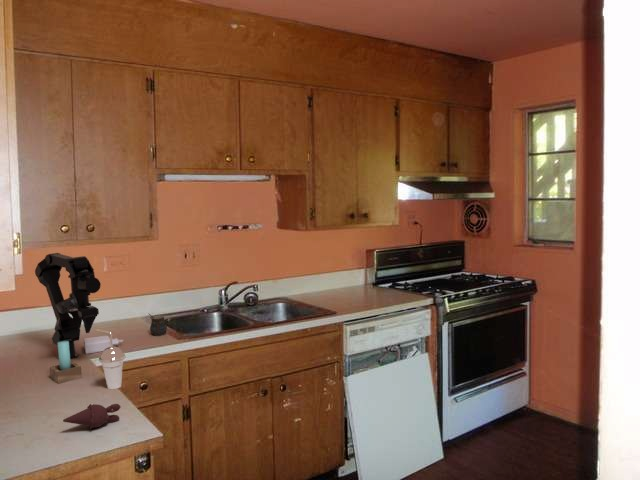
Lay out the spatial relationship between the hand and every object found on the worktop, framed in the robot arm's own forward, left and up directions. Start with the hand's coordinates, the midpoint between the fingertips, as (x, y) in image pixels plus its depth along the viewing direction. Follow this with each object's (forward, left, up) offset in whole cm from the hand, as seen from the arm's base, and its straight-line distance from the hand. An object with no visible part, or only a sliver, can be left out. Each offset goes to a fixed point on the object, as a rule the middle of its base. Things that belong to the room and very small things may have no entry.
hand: (83, 330), depth 210 cm
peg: (+10, -10, -13) cm, 19 cm away
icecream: (+57, -19, -13) cm, 62 cm away
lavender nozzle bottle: (-14, +13, -14) cm, 23 cm away
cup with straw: (+31, -2, -13) cm, 34 cm away
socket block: (+10, -10, -13) cm, 19 cm away
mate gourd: (-16, +38, -13) cm, 43 cm away
